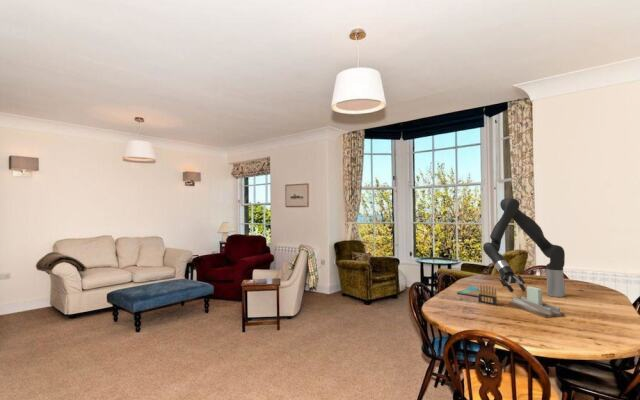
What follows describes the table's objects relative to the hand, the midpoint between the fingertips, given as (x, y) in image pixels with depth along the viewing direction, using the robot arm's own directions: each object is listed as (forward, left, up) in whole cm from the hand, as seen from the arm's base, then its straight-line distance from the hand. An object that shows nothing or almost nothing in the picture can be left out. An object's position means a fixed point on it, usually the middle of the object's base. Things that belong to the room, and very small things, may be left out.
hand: (518, 291), depth 211 cm
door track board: (0, +12, -8) cm, 14 cm away
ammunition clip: (+16, -7, -8) cm, 19 cm away
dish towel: (+6, -32, -9) cm, 34 cm away
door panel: (0, +12, -6) cm, 13 cm away
